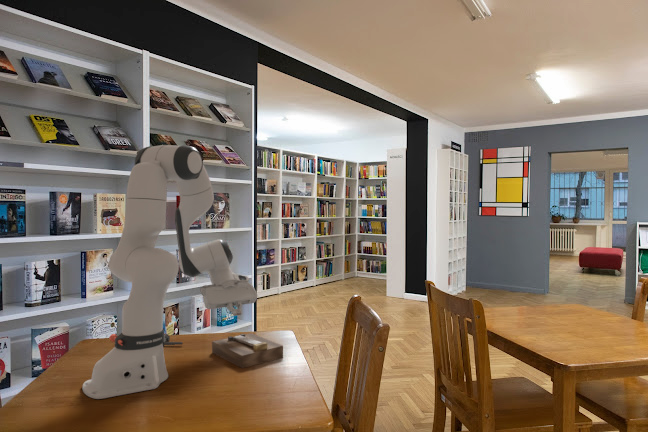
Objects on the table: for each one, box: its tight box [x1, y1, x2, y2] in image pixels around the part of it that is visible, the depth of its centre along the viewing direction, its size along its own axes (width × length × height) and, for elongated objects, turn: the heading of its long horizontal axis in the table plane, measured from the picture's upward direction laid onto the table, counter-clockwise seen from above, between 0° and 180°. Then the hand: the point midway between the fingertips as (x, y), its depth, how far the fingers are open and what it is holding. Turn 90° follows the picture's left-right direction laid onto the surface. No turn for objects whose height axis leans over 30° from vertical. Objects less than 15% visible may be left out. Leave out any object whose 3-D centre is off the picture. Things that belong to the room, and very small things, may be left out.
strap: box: [232, 335, 262, 347], centre depth 150 cm, size 3×14×1 cm, turn 42°
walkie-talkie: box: [164, 333, 183, 346], centre depth 163 cm, size 9×4×20 cm
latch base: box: [211, 332, 284, 369], centre depth 150 cm, size 16×20×6 cm
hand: (238, 314), depth 155 cm, fingers closed
